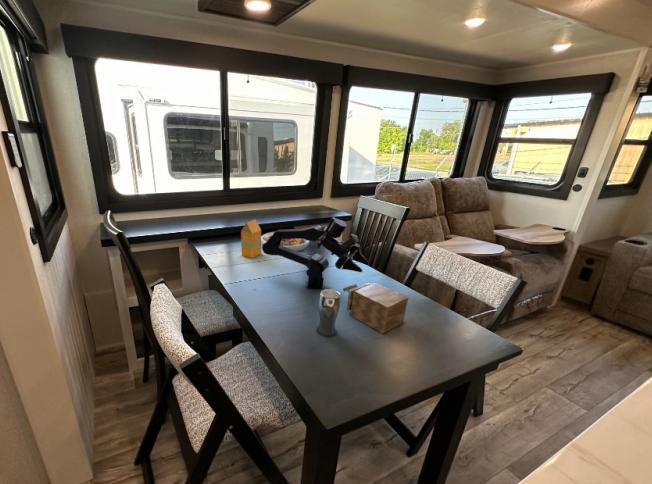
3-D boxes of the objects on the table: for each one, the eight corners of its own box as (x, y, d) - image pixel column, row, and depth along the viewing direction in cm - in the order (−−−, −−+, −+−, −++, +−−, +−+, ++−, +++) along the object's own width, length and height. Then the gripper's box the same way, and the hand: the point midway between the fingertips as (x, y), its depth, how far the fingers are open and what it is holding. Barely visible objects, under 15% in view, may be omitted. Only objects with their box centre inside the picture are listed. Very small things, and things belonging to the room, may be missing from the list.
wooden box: (350, 315, 120) (353, 290, 116) (370, 306, 127) (374, 282, 123) (382, 333, 109) (387, 307, 105) (403, 322, 116) (408, 297, 112)
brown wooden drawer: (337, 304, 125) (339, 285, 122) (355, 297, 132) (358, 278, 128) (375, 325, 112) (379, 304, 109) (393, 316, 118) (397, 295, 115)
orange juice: (261, 253, 180) (261, 220, 172) (252, 258, 173) (252, 223, 166) (250, 251, 184) (250, 217, 176) (241, 255, 177) (240, 221, 169)
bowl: (294, 257, 175) (295, 244, 172) (251, 247, 190) (251, 235, 187) (316, 243, 199) (317, 232, 196) (276, 235, 213) (277, 224, 210)
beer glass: (337, 327, 112) (342, 290, 106) (334, 338, 106) (339, 300, 100) (318, 323, 114) (322, 287, 108) (314, 334, 108) (318, 296, 102)
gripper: (335, 236, 120) (370, 259, 116) (351, 225, 134) (381, 246, 130) (322, 258, 126) (354, 281, 122) (338, 245, 140) (367, 265, 136)
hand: (365, 267), depth 127 cm, fingers open, 9 cm apart
